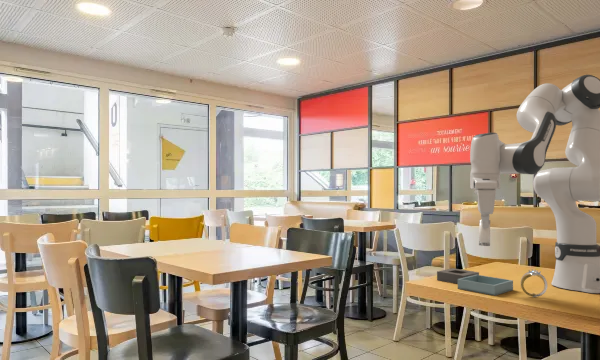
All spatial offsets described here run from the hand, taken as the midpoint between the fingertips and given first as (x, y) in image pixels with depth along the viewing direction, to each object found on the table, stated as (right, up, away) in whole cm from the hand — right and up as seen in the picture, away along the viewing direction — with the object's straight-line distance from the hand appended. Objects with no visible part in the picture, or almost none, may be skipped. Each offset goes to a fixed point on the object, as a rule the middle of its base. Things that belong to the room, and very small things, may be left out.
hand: (485, 227), depth 142 cm
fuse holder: (-4, -20, +13) cm, 24 cm away
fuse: (0, -6, 0) cm, 6 cm away
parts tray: (0, -20, 0) cm, 20 cm away
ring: (+10, -20, -10) cm, 24 cm away
